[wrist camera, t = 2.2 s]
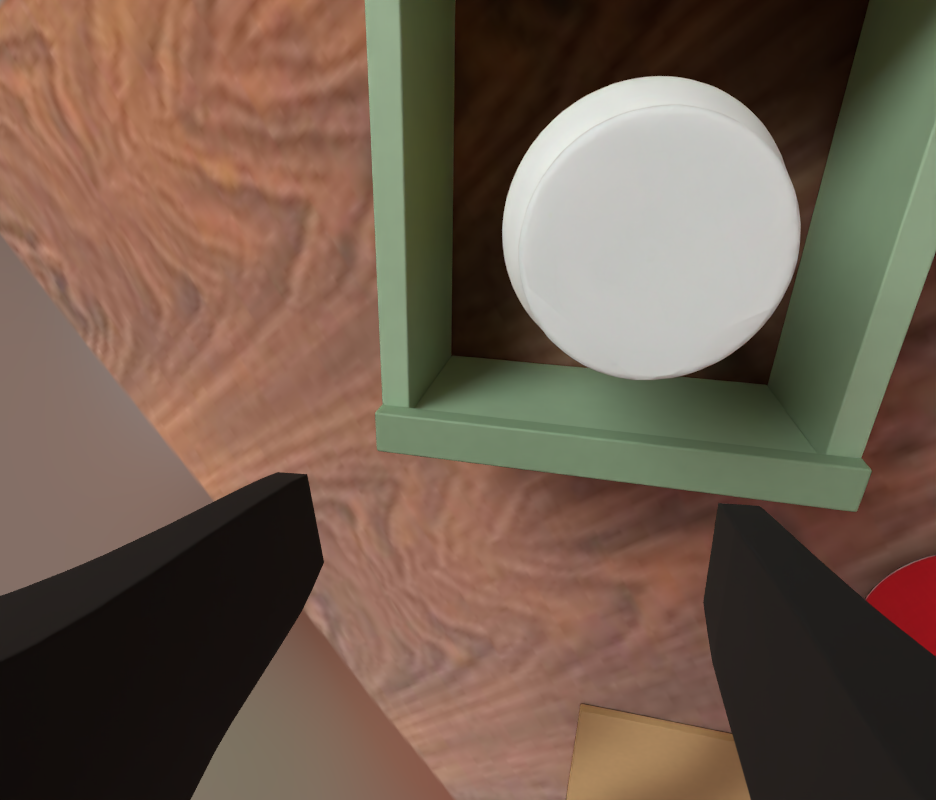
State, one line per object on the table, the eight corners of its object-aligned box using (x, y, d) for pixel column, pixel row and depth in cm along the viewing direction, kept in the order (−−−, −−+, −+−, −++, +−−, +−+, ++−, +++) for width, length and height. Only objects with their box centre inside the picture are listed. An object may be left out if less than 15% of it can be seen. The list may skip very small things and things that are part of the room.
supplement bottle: (665, 318, 18) (729, 472, 9) (509, 259, 18) (431, 355, 9) (755, 142, 15) (955, 129, 7) (574, 78, 16) (547, -14, 7)
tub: (922, -63, 13) (1123, -195, 8) (785, 414, 18) (857, 513, 13) (427, -43, 15) (346, -139, 10) (430, 378, 20) (376, 451, 15)
